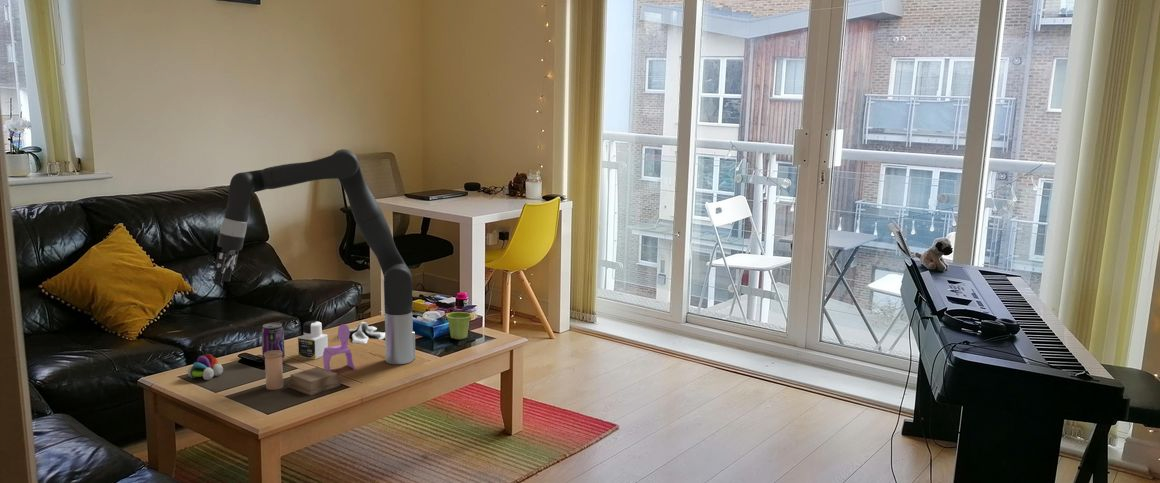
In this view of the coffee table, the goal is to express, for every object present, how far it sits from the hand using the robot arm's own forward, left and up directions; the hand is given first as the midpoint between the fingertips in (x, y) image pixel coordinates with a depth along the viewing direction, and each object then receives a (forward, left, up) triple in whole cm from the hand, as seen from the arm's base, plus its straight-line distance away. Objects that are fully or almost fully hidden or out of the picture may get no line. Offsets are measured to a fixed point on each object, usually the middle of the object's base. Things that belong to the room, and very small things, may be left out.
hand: (221, 282), depth 274 cm
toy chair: (-24, +26, -30) cm, 47 cm away
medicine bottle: (-28, +7, -30) cm, 42 cm away
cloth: (-53, +1, -31) cm, 62 cm away
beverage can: (-17, 0, -30) cm, 35 cm away
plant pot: (-76, +30, -30) cm, 87 cm away
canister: (-1, +24, -30) cm, 38 cm away
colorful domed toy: (+7, -1, -30) cm, 31 cm away
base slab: (-9, +33, -30) cm, 45 cm away
